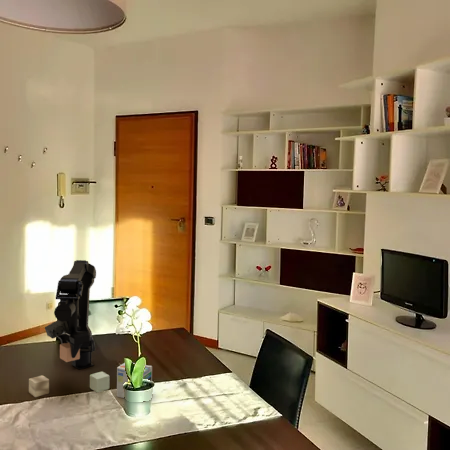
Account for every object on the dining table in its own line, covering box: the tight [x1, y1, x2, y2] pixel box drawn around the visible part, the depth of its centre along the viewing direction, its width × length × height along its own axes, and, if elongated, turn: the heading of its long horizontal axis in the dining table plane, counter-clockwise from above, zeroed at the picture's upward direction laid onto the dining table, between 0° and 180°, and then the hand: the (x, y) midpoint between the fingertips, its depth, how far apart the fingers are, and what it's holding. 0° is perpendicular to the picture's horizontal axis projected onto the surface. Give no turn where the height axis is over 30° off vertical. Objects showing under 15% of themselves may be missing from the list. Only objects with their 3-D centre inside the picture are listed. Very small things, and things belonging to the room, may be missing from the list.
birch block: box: [28, 375, 50, 398], centre depth 184 cm, size 5×5×5 cm
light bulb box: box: [116, 362, 153, 399], centre depth 184 cm, size 11×7×11 cm, turn 71°
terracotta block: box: [59, 343, 80, 363], centre depth 187 cm, size 5×5×5 cm
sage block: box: [89, 371, 111, 393], centre depth 189 cm, size 5×5×5 cm
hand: (69, 355), depth 187 cm, fingers closed on terracotta block, 5 cm apart
